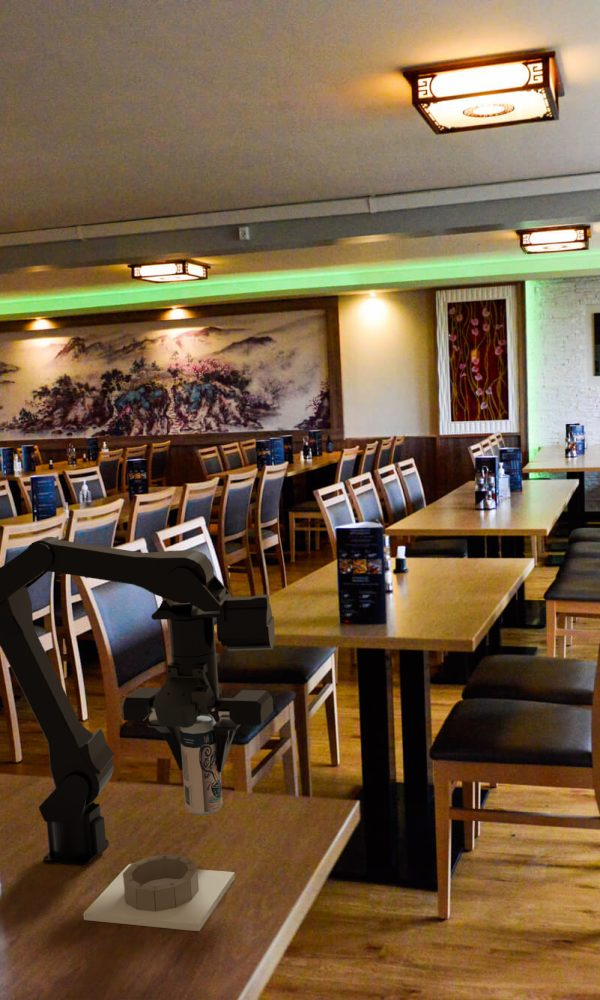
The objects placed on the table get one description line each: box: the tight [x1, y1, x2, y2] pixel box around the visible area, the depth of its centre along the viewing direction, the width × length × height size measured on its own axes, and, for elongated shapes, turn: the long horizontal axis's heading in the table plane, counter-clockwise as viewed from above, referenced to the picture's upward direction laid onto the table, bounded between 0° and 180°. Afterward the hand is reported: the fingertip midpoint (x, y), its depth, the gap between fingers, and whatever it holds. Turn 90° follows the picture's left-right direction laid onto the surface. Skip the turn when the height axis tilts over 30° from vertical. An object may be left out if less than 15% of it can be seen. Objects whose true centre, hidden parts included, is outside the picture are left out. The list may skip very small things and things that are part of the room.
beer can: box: [180, 714, 224, 816], centre depth 125 cm, size 5×5×12 cm
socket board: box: [83, 854, 236, 932], centre depth 114 cm, size 14×12×3 cm
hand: (201, 770), depth 125 cm, fingers closed on beer can, 5 cm apart
